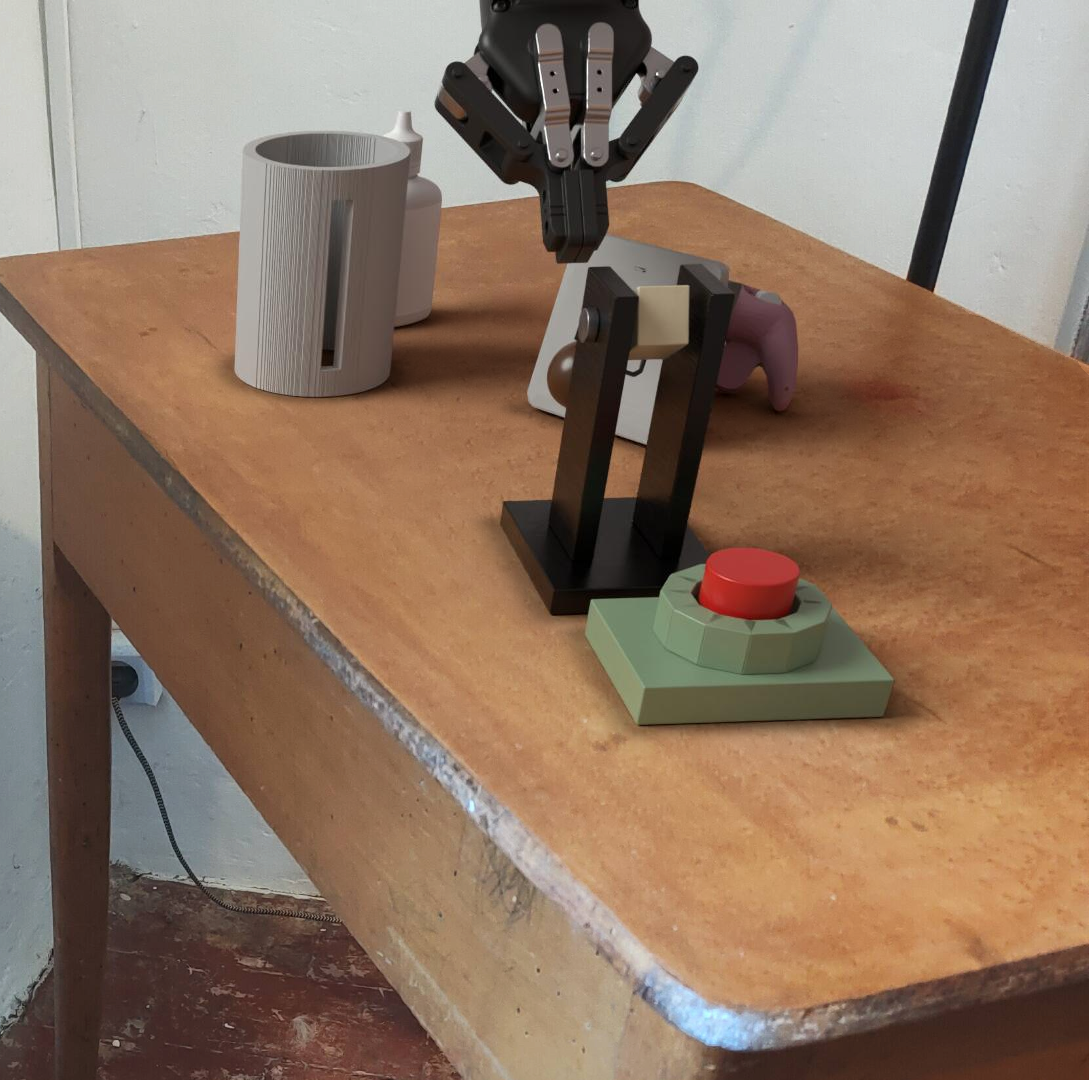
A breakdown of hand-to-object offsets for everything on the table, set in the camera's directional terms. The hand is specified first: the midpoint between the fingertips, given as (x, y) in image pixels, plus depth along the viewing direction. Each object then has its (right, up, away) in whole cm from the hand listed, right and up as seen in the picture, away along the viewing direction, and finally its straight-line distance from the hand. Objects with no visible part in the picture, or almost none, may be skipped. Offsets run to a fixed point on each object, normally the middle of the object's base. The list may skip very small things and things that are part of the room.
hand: (578, 254), depth 84 cm
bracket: (+1, -16, -3) cm, 16 cm away
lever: (0, -8, -4) cm, 9 cm away
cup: (-10, +1, +19) cm, 22 cm away
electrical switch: (+6, -4, +12) cm, 14 cm away
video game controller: (+11, -2, +15) cm, 19 cm away
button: (+3, -20, -13) cm, 24 cm away
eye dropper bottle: (-5, +7, +26) cm, 28 cm away
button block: (+3, -22, -11) cm, 25 cm away
